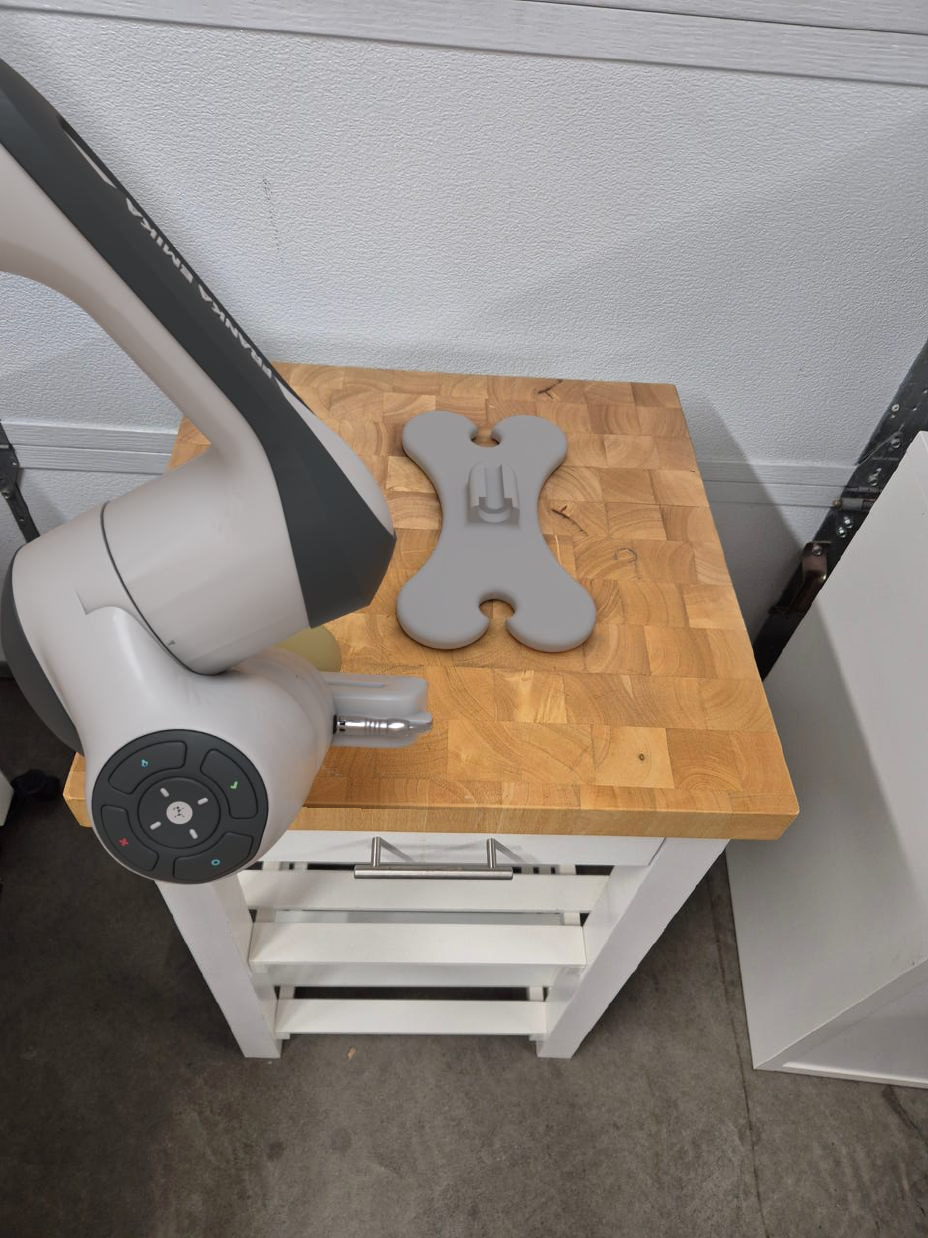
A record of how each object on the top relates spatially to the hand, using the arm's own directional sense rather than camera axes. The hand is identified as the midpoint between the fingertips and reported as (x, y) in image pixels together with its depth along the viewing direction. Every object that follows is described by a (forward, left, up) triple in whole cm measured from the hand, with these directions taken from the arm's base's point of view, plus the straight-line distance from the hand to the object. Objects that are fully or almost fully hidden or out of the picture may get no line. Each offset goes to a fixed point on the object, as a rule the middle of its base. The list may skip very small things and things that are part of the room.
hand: (295, 681), depth 62 cm
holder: (+16, +27, -8) cm, 32 cm away
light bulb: (0, +3, -8) cm, 9 cm away
